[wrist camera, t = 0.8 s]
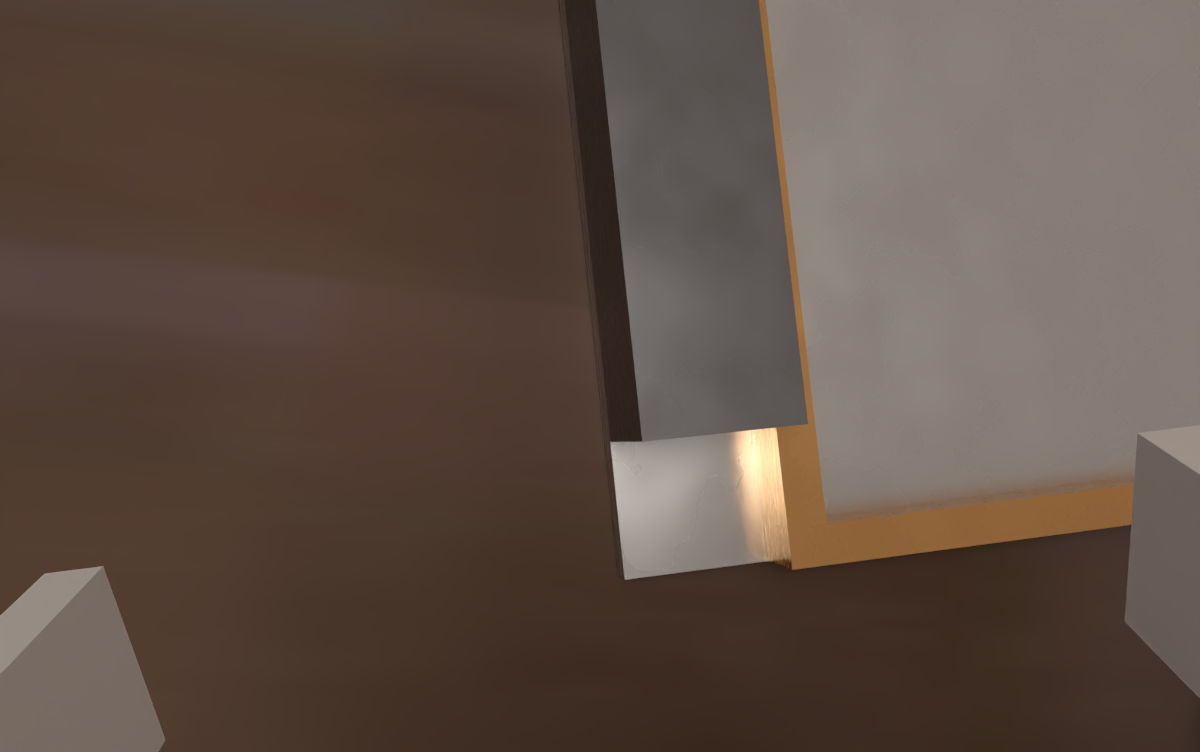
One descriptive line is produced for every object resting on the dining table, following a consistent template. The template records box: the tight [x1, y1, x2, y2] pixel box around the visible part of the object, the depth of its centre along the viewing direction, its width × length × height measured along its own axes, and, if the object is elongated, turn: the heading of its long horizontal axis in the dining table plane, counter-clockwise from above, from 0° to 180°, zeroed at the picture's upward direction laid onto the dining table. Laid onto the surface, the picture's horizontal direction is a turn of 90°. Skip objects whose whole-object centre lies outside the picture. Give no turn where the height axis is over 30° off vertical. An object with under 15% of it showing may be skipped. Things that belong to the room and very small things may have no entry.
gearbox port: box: [559, 0, 1200, 580], centre depth 28 cm, size 22×27×6 cm
